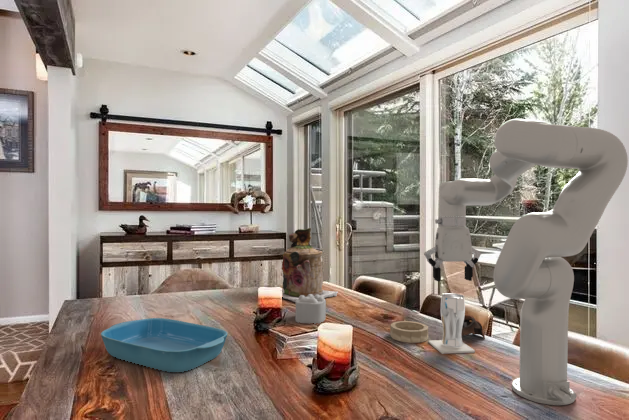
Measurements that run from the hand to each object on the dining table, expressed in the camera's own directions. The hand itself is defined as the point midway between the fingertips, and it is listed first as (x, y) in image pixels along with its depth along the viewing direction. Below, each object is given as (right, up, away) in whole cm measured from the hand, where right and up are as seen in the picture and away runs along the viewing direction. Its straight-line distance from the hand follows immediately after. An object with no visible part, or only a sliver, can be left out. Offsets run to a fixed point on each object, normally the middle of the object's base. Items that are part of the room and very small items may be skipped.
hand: (452, 280), depth 126 cm
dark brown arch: (+9, -21, +12) cm, 25 cm away
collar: (-11, -20, +11) cm, 25 cm away
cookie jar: (-47, -19, +72) cm, 88 cm away
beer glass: (0, -20, +1) cm, 20 cm away
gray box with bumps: (-42, -20, +32) cm, 57 cm away
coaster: (0, -20, +1) cm, 20 cm away
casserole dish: (-83, -20, -8) cm, 86 cm away
